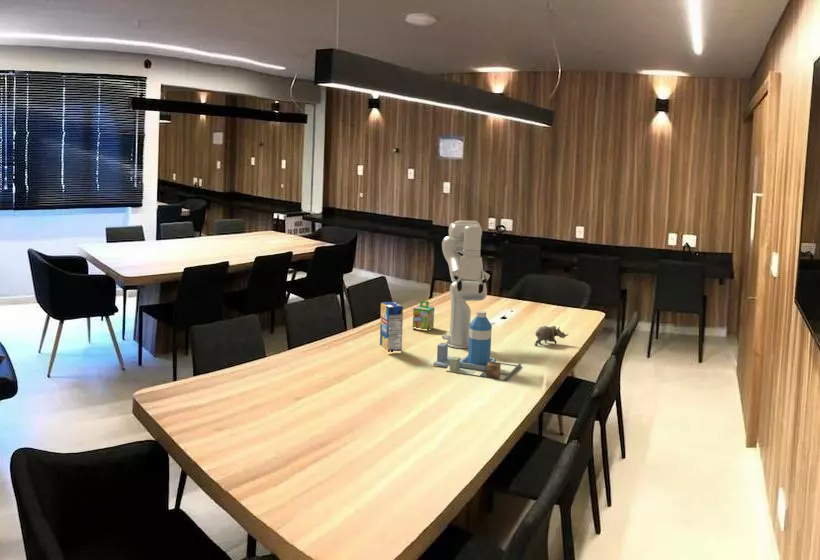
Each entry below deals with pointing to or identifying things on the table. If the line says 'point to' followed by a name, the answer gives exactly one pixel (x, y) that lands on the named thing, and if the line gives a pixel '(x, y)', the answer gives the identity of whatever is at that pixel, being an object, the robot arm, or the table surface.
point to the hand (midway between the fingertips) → (470, 291)
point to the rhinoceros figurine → (548, 334)
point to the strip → (458, 366)
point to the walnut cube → (493, 369)
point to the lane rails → (492, 377)
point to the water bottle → (479, 340)
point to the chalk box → (423, 316)
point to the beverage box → (391, 326)
